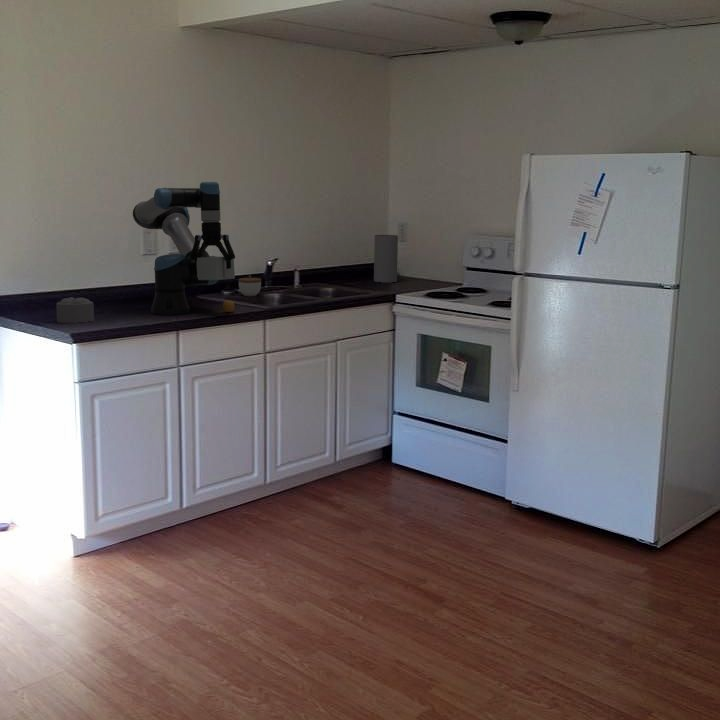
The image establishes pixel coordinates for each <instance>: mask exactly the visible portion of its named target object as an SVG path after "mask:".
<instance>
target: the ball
mask: <svg viewBox="0 0 720 720" xmlns="http://www.w3.org/2000/svg"><path fill="white" fill-rule="evenodd" d="M221 306H222V311H224V312H225V313H227V312H230V313H232V312H233V311H234V310H235V308H236V305H235V303H234V302H233V301H232V300H228V299H227V300H225V301H224V302H223V303H222V305H221Z"/></svg>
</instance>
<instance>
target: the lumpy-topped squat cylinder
mask: <svg viewBox="0 0 720 720" xmlns="http://www.w3.org/2000/svg"><path fill="white" fill-rule="evenodd" d="M55 305H56V308H55V309H56V323H59V324H79V323H78V322H84V323H89V322H88V321H93V322H95V310H94V308H95V307H94V306H95V305H94V301H91V300H90V299H88V298H85V297H76V298H75V297H71V296H70V297H67V298H66V297H65V298H62V299H61V300H60V301H58V302H56V304H55Z"/></svg>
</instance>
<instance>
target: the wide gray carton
mask: <svg viewBox="0 0 720 720" xmlns="http://www.w3.org/2000/svg"><path fill="white" fill-rule="evenodd" d="M224 261H226V259H225V258H224V256H216V257H201V258H197V267H198V280H218V281H220V280H233V279H234V280H235V278H236V277H235V259H232V260H231V269H229V275H230V277H225V273H224Z"/></svg>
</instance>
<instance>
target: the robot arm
mask: <svg viewBox="0 0 720 720" xmlns="http://www.w3.org/2000/svg"><path fill="white" fill-rule="evenodd" d="M220 191H221V190H220V184H219V183H218V182H217V181H202V182H200V183H199V187H198V188H197V187H193V188H192V187H191V188H190V187H189V188H188V187H187V188H185V187H183V188H181V187H178V188H177V187H176V188H175V187H174V188H173V187H157V188H156V189H155V190H154V194H153V196H152V197H150V198H149V199H148V200H143V201H140V202H138V203H137V204H136V205H135V206H134V207H133V209H132V217H133V220H134V222H135V223H136V224H137V225H138V226H139V227H141V228H143V229H145V230H146V229H147V230H162V231H163V233H164V234H165V235H166V236H169V237H170V238H171V240H172V241H173V243H174V246H175V248H176V249H177V251H178V253H171V254H170V253H169V254H164V255H159V256H157V257H156V258H155V260H154V268H153V270H154V291H155V292H154V297H153V301H152V305H151V308H150V310H151V314H154V315H162V316H163V315H164V316H165V315H167V316H168V315H169V316H174V315H185V314H188V313H190V305H189V302H188V299H187V296H186V293H185V292H186V291H185V290H186V289H185V287H187V286H188V287H190V286H209V285H211V286H212V285H216V283H218V281H219V280H198V267H197V258H201V257H217V256H216V255H209V253H208V251H206V249H207V248H208V247H211V246H212V247H213V246H215V247H216V248H217V249H218V251H219V252H220V254H221V256H222V257H224V258H225V259H226V261H224V273H225V277H230V275H229V269H231V260H232V259H234V260H235V259H236V255H235V252H234V250H233V248H232V245H231V242H230V239H229V237H230V236H229V234H222V225H221V224H222V223H221V222H220V221H221V220H222V219H221V198H220V196H221V195H220ZM188 208H194V209H200V220H201V234H195V235H193V233H192V231H191V229H190V228H189V225H190V219H191V217H190V213H189V212H190V211H189V209H188ZM221 240H223V242H222V241H221ZM201 241H202V243H201ZM223 244H224V245H223ZM200 245H201V246H200ZM224 246H225V247H224Z"/></svg>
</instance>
